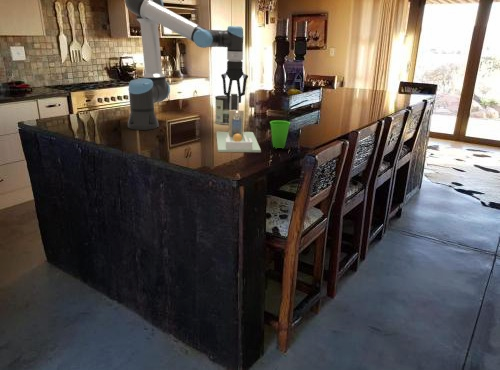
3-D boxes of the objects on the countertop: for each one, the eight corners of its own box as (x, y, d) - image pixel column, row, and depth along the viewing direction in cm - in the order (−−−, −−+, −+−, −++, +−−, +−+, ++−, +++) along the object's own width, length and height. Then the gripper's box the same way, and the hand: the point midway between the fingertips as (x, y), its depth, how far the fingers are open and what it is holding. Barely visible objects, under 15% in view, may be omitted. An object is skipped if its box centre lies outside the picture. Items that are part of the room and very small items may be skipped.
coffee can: (235, 121, 222) (236, 96, 217) (231, 125, 212) (231, 98, 207) (218, 119, 224) (218, 94, 219) (212, 123, 214) (212, 97, 209)
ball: (233, 143, 173) (233, 134, 172) (232, 141, 177) (232, 132, 176) (242, 143, 174) (242, 134, 172) (241, 141, 178) (241, 132, 176)
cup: (267, 144, 178) (268, 120, 174) (287, 144, 179) (288, 120, 175) (269, 149, 169) (271, 124, 165) (290, 150, 170) (292, 125, 166)
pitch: (217, 152, 164) (218, 120, 159) (216, 133, 193) (216, 106, 189) (260, 152, 166) (262, 121, 161) (252, 133, 195) (253, 107, 191)
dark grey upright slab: (232, 137, 180) (233, 101, 174) (229, 125, 203) (230, 93, 197) (241, 137, 180) (242, 102, 174) (237, 125, 203) (238, 93, 198)
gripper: (218, 60, 186) (218, 110, 194) (252, 61, 188) (250, 110, 196) (218, 59, 193) (217, 107, 201) (250, 60, 194) (249, 108, 203)
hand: (234, 109), depth 199 cm, fingers closed on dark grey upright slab, 3 cm apart
